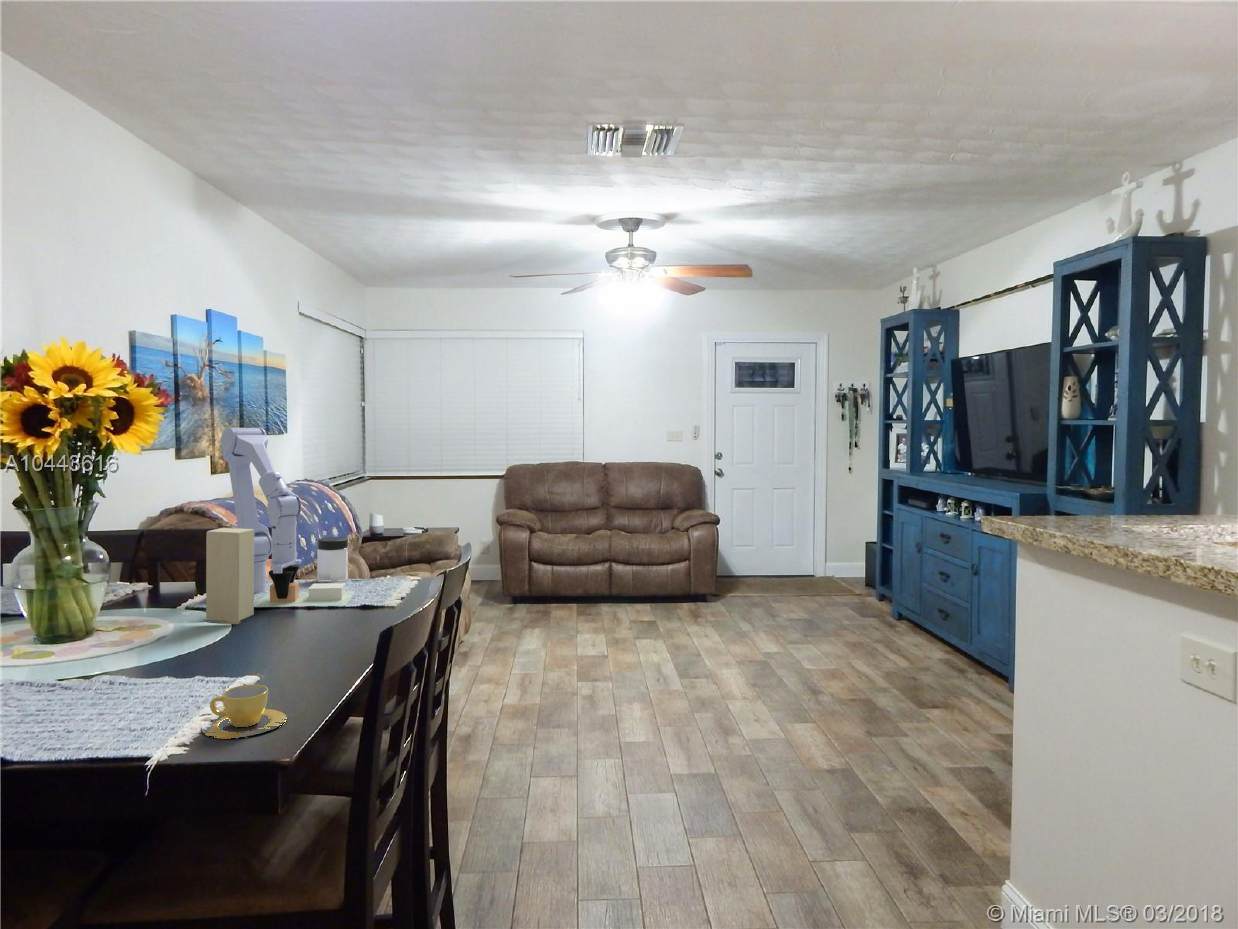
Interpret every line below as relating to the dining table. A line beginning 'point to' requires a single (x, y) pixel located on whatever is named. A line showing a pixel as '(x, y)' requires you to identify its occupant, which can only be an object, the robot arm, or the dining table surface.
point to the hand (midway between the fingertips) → (284, 596)
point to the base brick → (327, 591)
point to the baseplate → (304, 601)
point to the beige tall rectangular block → (229, 575)
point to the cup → (243, 709)
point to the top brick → (292, 593)
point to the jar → (332, 559)
